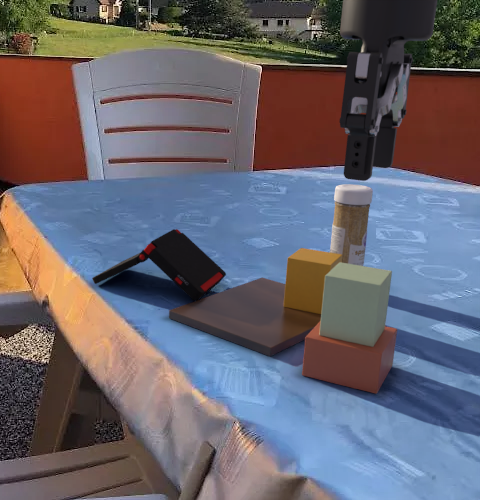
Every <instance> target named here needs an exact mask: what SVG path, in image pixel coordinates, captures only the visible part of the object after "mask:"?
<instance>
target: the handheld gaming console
mask: <svg viewBox="0 0 480 500" xmlns="http://www.w3.org/2000/svg"><path fill="white" fill-rule="evenodd" d="M148 260H150V261H151V263H153V264H154V265H155V266H156V267H158V268H159V269H160V270H161V271H162V273H164V274H165V275H166V276H167V277H168V278H169V279H170V280H171V281H172V282H174V284H175V285H176V286H178V287H179V288H180V290H182V292H184V293H185V294H186V295H187V296H188V297H189V298H190V299H191V300H193V301H197V300H200V299H202V298H203V296H205V295H206V294H208V292H210V291H211V290H212V289H213V288H215V287H216V286H217V285H218V284H220V282H221V281H222V280H223V279H225V277H226V276H227V273H226V271H225V270H223V268H222V267H221V266H219V264H217V263H216V262H215V261H214V260H213V259H212V258H211V257H210V256H208V255H207V254H206V253H205V252H204V251H203V250H202V249H201V248H200V247H199V246H198V245H197V244H196V243H195V242H193V240H191V239H190V238H189V237H188V236H187V235H186V234H185V233H184V232H181V231H180V230H179V229H177V228H176V229H175V228H173V229H172V230H169V231H168V232H166V233H164V234H162V235H160V236H158V237H156V238H155V239H153V240H152V241H150V243H148V244H147V245H146V247H145V248H144V249H142V250H141V252H138V253H137V254H134V255H132V256H130V257H128V258H126V259H124V260H122V261H120V262H118V263H117V264H115V265H113V266H111V267H109V268H108V269H106V270H104V271H102V272H100V273H98V274H96V275H95V276H93V277H92V278H91V279H92V282H93V284H95V285H97V284H99V283H101V282H103V281H105V280H107V279H110V278H112V277H113V276H116V275H119V274H121V273H122V272H124V271H126V270H129V269H131V268H133V267H135V266H137V265H139V264H141V263H145V262H146V261H148Z"/></svg>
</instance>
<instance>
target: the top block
mask: <svg viewBox="0 0 480 500" xmlns="http://www.w3.org/2000/svg"><path fill="white" fill-rule="evenodd" d="M286 261H287V262H286V273H285V283H284V284H285V296H284V307H288V308H292V309H297V310H302V311H307V312H312V313H317V314H321V313H322V303H323V293H324V283H325V275H326V274H328V273H329V272H330V271H331V270H332V269H333V268H334V267H335V266H336V265H337V264H338V263H339V262H341V263H342V254H336V253H330V251H323V250H316V249H310V248H304V247H300V248H298V250H296V251H295V252H294V253H292V254H291V255H290V256H288V257H287V260H286Z"/></svg>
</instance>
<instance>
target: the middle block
mask: <svg viewBox="0 0 480 500" xmlns="http://www.w3.org/2000/svg"><path fill="white" fill-rule="evenodd" d="M392 275H393V271H392V270H388V269H383V268H377V267H370V266H364V265H363V266H359V265H353V264H347V263H341V262H339V263H338V264H337V265H336V266H335V267H334V268H333V269H332V270H331V271H330V272H329V273H328V274H326V275H325V283H324V293H323V303H322V313H321V323H320V333H319V335H320V336H325V337H329V338H334V339H338V340H343V341H347V342H352V343H357V344H361V345H366V346H370V347H373V346H374V345H375V343H376V342H377V340H378V339H379V337H380V336H381V334H382V333H383V331H384V330H385V326H386V322H387V314H388V308H389V307H388V306H389V301H390V300H389V299H390V292H391V284H392Z"/></svg>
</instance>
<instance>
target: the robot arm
mask: <svg viewBox="0 0 480 500" xmlns="http://www.w3.org/2000/svg"><path fill="white" fill-rule="evenodd" d="M437 5H438V0H342V8H341V18H340V28H339V29H340V30H339V34H340V36H341V38H343V39H345V40H354V41H355V40H358V41H359V40H360V41H361V42H362V45H361V48H360V52H359V51H349V52H348V55H347V57H346V69H345V78H344V84H343V85H344V87H343V95H342V103H341V112H340V117H339V127H340V128H341V129H344V133H345V134H346V135H347V138H346V147H345V157H344V164H343V166H344V167H343V177H344V178H345V179H346V180H352V181H360V182H361V181H362V182H365V181H368V180H370V179H371V178H372V176H373V168H382V169H388V168H390V167H391V166H392V165H393V164H394V156H395V148H396V140H397V132H398V128H399V127H400V125H401V124H402V122H403V119H405V117H406V115H407V101H408V94H409V85H410V77H411V68H412V64H413V60H414V59H413V58H414V57H413V54H412V53H405V44H406V43H408V42H425V41H429V40H430V39H431V38H432V37H433V34H434V29H435V28H434V27H435V20H436V12H437ZM397 127H398V128H397Z"/></svg>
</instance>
